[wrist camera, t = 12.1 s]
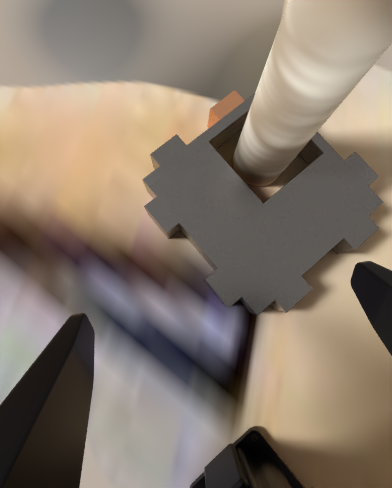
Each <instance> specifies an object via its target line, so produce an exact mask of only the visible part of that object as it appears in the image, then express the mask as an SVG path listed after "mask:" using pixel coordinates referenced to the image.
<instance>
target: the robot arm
mask: <svg viewBox="0 0 392 488" xmlns="http://www.w3.org/2000/svg"><path fill="white" fill-rule="evenodd" d="M351 286H352V289H353V291H354V292H355V294H356V296H357V298H358V300H359V302H360V304H361V306H362V308H363V310H364V312H365V314H366V315H367V317H368V319H369V321H370V323H371V325H372V326H373V328H374V330H375V331H376V333H377V334H378V336H379V337H380V339H381V340H382V342H383V343H384V345H385V346H386V348H387V349H388V351H389V352H390V354H391V355H392V271H391V270H389V269H387V268H384V267H382V266H380V265H378V264H376V263H374V262H371V261H365V262H360V263H357V264H356V265H355V268H354V271H353V274H352V278H351ZM94 337H95V336H94V329H93V327H92V325H91V323H90V321H89V319H88V317H87V315H86V314H84V313H80V314H75V315H72V316H70V317H69V318H68V320H67V321H66V322H65V323H64V325H63V326H62V327H61V329H60V330H59V331H58V332H57V334H56V335H55V336H54V337H53V339H52V340H51V341H50V343H49V344H48V345H47V346H46V348H45V349H44V350H43V351H42V353H41V354H40V355H39V356H38V358H37V359H36V360H35V362H34V363H33V364H32V365H31V367H30V368H29V369H28V370H27V372H26V373H25V374H24V375H23V377H22V378H21V379H20V381H19V382H18V383H17V384H16V386H15V387H14V388H13V389H12V391H11V392H10V393H9V395H8V396H7V397H6V398H5V400H4V401H3V402H2V403H1V405H0V488H79V485H80V478H81V471H82V463H83V456H84V449H85V441H86V434H87V427H88V419H89V412H90V405H91V397H92V390H93V379H94ZM252 434H256V438H251V435H252ZM190 488H305V487H304V486H303V485H302V484H301V482H300V481H299V480H298V479H297V477H296V476H295V475H294V474H293V472H292V471H291V470H290V469H289V468H288V466H287V465H286V464H285V463H284V461H283V460H282V459H281V458H280V456H279V455H278V454H277V453H276V451H275V450H274V449H273V448H272V447H271V445H270V444H269V443H268V442H267V440H266V439H265V438H264V437H263V435H262V434H261V433H260V432H259V431H258V429H256V428H254V427H253V428H250V429H248V430H247V431H246V432H245V433H244V434H243V435H242V436H241V437H240V438H239V439H238V440H237V441H236V442H235V443H234V444H229V445H228V446H227V447H226V448H225V449H224V450H223V451H222V452H220V453H219V454H218V455H217V456H216V457H215V458H214V459H213V460H212V461H211V462H210V463H209V464H208V465H207V466H206V467H205V471H204V472H203V473H202V474H201V475H200V476H199V477H198V478H197V479H196V480H195V481H194V482H193V483H192V484H191V486H190ZM310 488H313V486H311V487H310Z"/></svg>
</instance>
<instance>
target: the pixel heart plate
mask: <svg viewBox="0 0 392 488" xmlns="http://www.w3.org/2000/svg"><path fill="white" fill-rule="evenodd" d="M254 96H255V93H254V94H253V95H252V96H250V97H249V98H248V99H247V100H245V101H244V99H243V98H242V97H241V96H240V95H239V94H238V93H237V92H236V91H233V92H232V93H230V94H229V95H228V96H226V97H225V98H224V99H222V100H221V101H220V102H218V103H217V104H216V105H215V106H213V107H212V108H211V109H210V113H209V121H208V127H209V129H208V130H206V131H205V132H204V133H202V134H201V135H200V136H198V137H197V138H196V139H195V140H193V141H192V142H191V143H189V144H188V145H186V144H185V143H184V142H183V141H182V140H181V139H180V138H179V136H178V135H177V134H176V135H175V136H174V137H172V138H171V139H170V140H168V141H167V142H166V143H165V144H163V145H162V146H161V147H159V148H158V149H157V150H155V151H154V152H153V153H151V154H150V155H151V159H152V163H153V166H154V168H155V170H154V171H153V172H152V173H150V174H149V175H148V176H147V177H145V178H144V179H143V182H144V184H145V187H146V189H147V191H148V192H149V193H150V195H151V196H152V197H153V198H154V199H153V200H152V201H150V202H149V203H148V204H147V205H145V206H144V207H145V209H146V211H147V213H148V215H149V216H150V217H151V218H152V219H153V221H154V222H155V223H156V224H157V225H158V227H159V228H160V229H161V230H162V231H163V233H164V234H165V235H166V236H167V237H168V239H169V238H170V237H171V236H172V235H174V234H175V233H176V232H177V231H179V230H181V231H182V232H183V234H184V235H185V236H186V237H187V238H188V240H189V241H190V242H191V243H192V244H193V245H194V247H195V248H196V249H197V250H198V251H199V253H200V254H201V255H202V256H203V257H204V258H205V260H206V261H207V262H208V263H209V264H210V266H211V267H212V268H213V269H214V270H215V271H214V272H212V273H211V274H210V275H209V276H208V277H207V278H205V279H204V282H205V283H206V284H207V285H208V286H209V287H210V289H211V290H212V291H213V292H214V293H215V295H216V296H217V297H218V298H219V299H220V301H221V302H222V303H223V304H224V305H225V306H227V307H231V306H232V305H233V304H234V303H235V302H236V301H237V300H240V301H241V302H242V303H243V305H244V306H245V307H246V308H247V309H248V311H249V312H251V313H253V314H256V315H258V314H260V313H261V312H262V311H263V310H264V309H265V308H266V307H267V306H268V305H270V304H271V305H272V306H273V307H274V308H275V310H278V311H282V312H286V313H287V312H288V311H289V310H290V309H291V308H292V307H293V306H294V305H295V304H296V303H298V302H299V301H300V300H301V299H302V298H303V297H304V296H305V295H306V294H307V293H308V292H310V291H311V290H312V288H311V286H310V285H309V284H308V283H307V282H306V281H305V280H304V278H303V277H302V275H303V274H304V273H305V272H306V271H307V270H309V269H310V268H311V267H312V266H313V265H314V264H315V263H316V262H317V261H319V260H320V259H321V258H322V257H323V256H324V255H325V254H326V253H327V252H329V251H330V250H331V249H332V248H333V249H334V251H335V252H336V253H337V254H339V253H344V252H348V251H353V250H356V249H357V248H358V247H359V246H360V245H361V244H362V243H363V242H364V241H366V240H367V239H368V238H369V237H370V236H371V235H372V234H373V233H374V232H375V231H377V230H378V229H379V227H378V226H377V225H376V224H375V223H374V222H373V221H372V220H371V219H370V218H369V215H370V214H371V213H372V212H373V211H374V210H375V209H376V208H378V207H379V206H380V205H381V204H382V203H383V201H382V200H381V199H380V198H379V197H378V196H377V195H376V194H375V193H374V192H373V191H372V189H371V188H370V187H369V186H368V185H369V184H370V183H372V182H373V181H374V180H375V179H376V178H377V177H378V175H377V174H376V173H375V172H374V171H373V170H372V169H371V168H370V167H369V166H368V164H367V163H366V162H365V161H364V160H363V159H362V158H361V157H360V156H359V155H358V154H357V153H356V152H354V153H353V154H352V155H350V156H349V157H348V158H347V159H345V160H343V159H342V158H341V157H340V156H339V154H338V153H337V152H336V151H335V150H334V149H333V148H332V147H331V146H330V145H329V144H328V143H327V142H326V141H325V140H324V139H323V137H322V136H321V135H320V134H319V133H318V132H316V133H315V135H314V136H313V137H312V138H311V139H310V141H309V142H308V143H307V144H306V145H305V147H304V148H303V149H302V150H301V151H300V152H299V155H300V156H301V157H302V158H303V159H304V160H305V161H306V162H307V163H308V164H309V166H308V167H306V168H305V169H304V170H303V171H302V172H301V173H299V174H298V175H297V176H296V177H295V178H293V179H292V180H291V181H290V182H289V183H287V184H286V185H285V186H284V187H283V188H281V189H280V190H279V191H278V192H277V193H275V194H274V195H273V196H272V197H271V198H269V199H268V200H267V201H266V202H265V203H264V204H263V203H262V201H261V200H260V199H259V198H258V197H257V196H256V195H255V194H254V192H253V191H252V190H251V189H250V188H249V187H248V186H247V185H246V183H245V182H244V181H243V180H242V179H241V178H240V177H239V176H238V175H237V173H236V172H235V171H234V170H233V169H232V168H231V167H230V166H229V164H228V163H227V162H226V161H225V160H224V159H223V158H222V157H221V155H220V154H219V153H218V152H217V151H216V150H215V149H216V148H217V147H218V146H220V145H221V144H222V143H224V142H225V141H226V140H227V139H229V138H230V137H231V136H232V135H234V134H235V133H236V132H238V131H239V130H240V129H241V128H243V127H244V124H245V121H246V118H247V115H248V113H249V110H250V107H251V104H252V101H253V99H254Z"/></svg>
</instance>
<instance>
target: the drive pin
mask: <svg viewBox="0 0 392 488" xmlns="http://www.w3.org/2000/svg"><path fill="white" fill-rule="evenodd" d="M391 43H392V0H289V1H288V4H287V6H286V9H285V12H284V15H283V18H282V20H281V23H280V26H279V29H278V32H277V34H276V37H275V40H274V43H273V46H272V48H271V51H270V54H269V57H268V60H267V62H266V65H265V68H264V71H263V73H262V76H261V79H260V82H259V85H258V87H257V90H256V93H255V96H254V99H253V101H252V104H251V107H250V110H249V113H248V115H247V118H246V121H245V124H244V127H243V129H242V132H241V135H240V138H239V141H238V143H237V146H236V149H235V152H234V155H233V167H234V170H235V172H236V173H237V175H238V176H239V177H240V178H241V179H242V180H243V181H244V182H245V183H247V184H249V185H252V186H266V185H269V184H271V183H273V182H274V181H275V180H276V179H278V177H279V176H280V175H281V174H282V173H283V171H284V170H285V169H286V168H287V167H288V165H289V164H290V163H291V162H292V161H293V160H294V158H295V157H296V156H297V155H298V154H299V152H300V151H301V150H302V149H303V148H304V147H305V145H306V144H307V143H308V142H309V141H310V139H311V138H312V137H313V136H314V135H315V133H316V132H317V131H318V130H319V129H320V128H321V126H322V125H323V124H324V123H325V122H326V120H327V119H328V118H329V117H330V116H331V115H332V113H333V112H334V111H335V110H336V109H337V107H338V106H339V105H340V104H341V103H342V102H343V100H344V99H345V98H346V97H347V96H348V94H349V93H350V92H351V91H352V90H353V88H354V87H355V86H356V85H357V84H358V83H359V81H360V80H361V79H362V78H363V77H364V75H365V74H366V73H367V72H368V71H369V70H370V68H371V67H372V66H373V65H374V64H375V62H376V61H377V60H378V59H379V58H380V56H381V55H382V54H383V53H384V52H385V51H386V49H387V48H388V47H389V46H390V45H391Z"/></svg>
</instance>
